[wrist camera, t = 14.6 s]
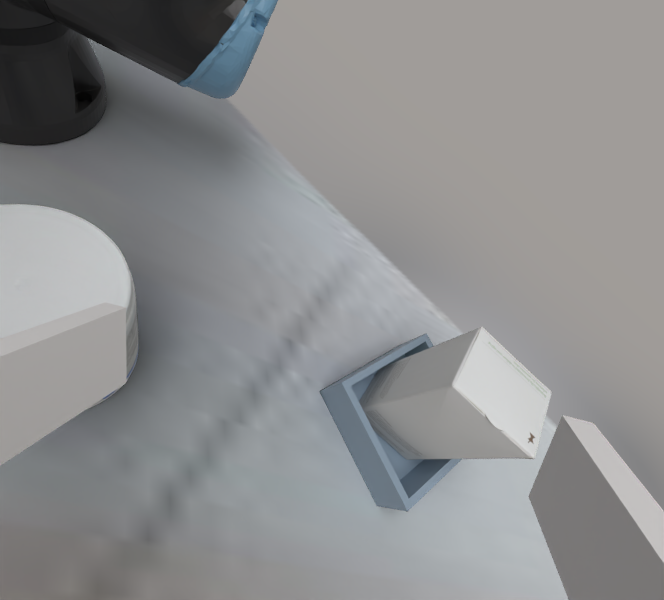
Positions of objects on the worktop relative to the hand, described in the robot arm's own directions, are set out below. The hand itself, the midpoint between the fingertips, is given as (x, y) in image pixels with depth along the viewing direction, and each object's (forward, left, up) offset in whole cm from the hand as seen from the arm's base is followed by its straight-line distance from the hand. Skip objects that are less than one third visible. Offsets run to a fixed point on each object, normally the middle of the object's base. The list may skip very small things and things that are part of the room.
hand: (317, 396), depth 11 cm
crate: (+8, +18, -25) cm, 32 cm away
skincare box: (+7, +18, -24) cm, 31 cm away
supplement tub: (-11, -6, -25) cm, 28 cm away
